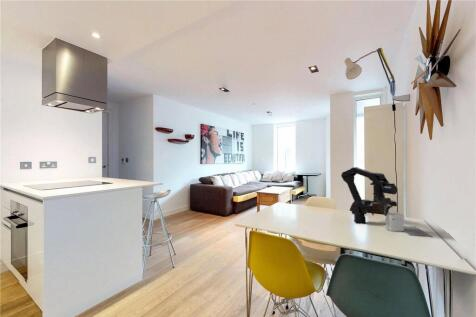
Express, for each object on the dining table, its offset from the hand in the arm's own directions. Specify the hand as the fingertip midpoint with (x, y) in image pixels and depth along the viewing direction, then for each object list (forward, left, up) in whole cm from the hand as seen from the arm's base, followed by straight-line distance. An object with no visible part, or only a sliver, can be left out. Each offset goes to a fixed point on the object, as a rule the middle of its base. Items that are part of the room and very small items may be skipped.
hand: (379, 215), depth 136 cm
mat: (+19, 0, -9) cm, 20 cm away
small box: (+9, 0, -9) cm, 12 cm away
